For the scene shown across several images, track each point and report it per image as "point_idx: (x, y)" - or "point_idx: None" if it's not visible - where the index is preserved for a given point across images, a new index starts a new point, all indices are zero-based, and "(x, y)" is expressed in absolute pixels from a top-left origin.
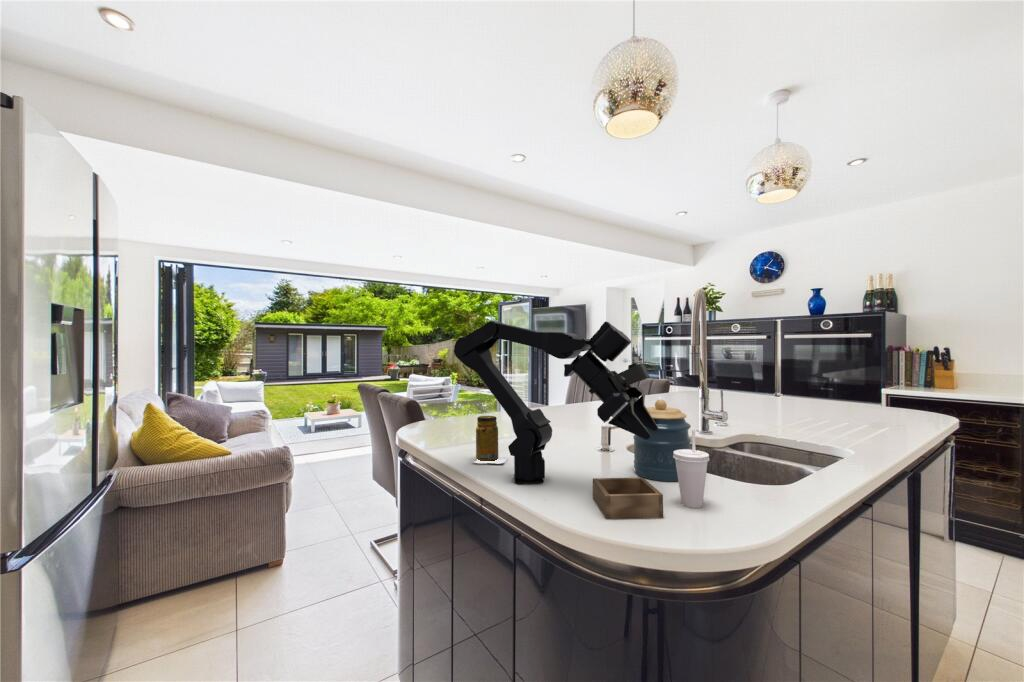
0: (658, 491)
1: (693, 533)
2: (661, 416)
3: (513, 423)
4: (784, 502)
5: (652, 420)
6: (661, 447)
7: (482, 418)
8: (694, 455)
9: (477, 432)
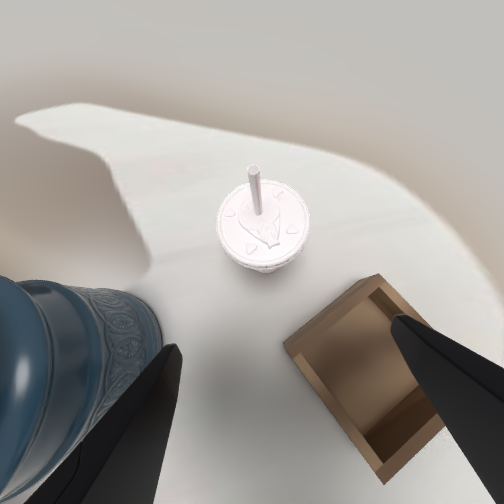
0: (365, 286)
1: (386, 228)
2: None
3: None
4: (185, 156)
5: (154, 385)
6: (106, 350)
7: None
8: (280, 207)
9: None
